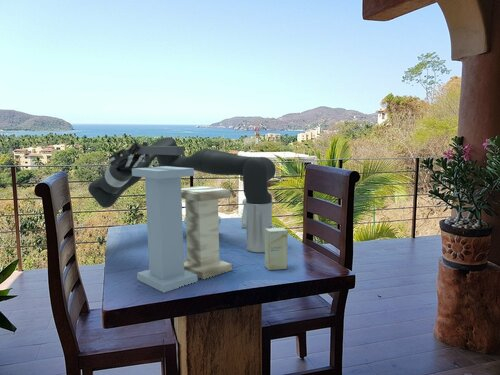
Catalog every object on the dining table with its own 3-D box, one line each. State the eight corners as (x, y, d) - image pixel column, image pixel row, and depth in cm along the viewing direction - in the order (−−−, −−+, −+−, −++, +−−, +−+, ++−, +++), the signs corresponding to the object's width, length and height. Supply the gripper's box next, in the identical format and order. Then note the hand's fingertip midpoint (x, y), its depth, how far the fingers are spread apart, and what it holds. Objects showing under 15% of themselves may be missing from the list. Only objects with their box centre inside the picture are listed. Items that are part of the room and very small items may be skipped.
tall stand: (137, 279, 112) (131, 168, 108) (170, 270, 119) (166, 166, 115) (163, 292, 102) (158, 171, 98) (197, 281, 109) (193, 168, 105)
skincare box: (268, 270, 118) (268, 231, 116) (264, 266, 122) (263, 228, 120) (288, 268, 119) (288, 230, 118) (283, 264, 124) (283, 226, 122)
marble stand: (175, 268, 121) (172, 188, 118) (204, 260, 128) (201, 185, 125) (203, 279, 111) (200, 193, 108) (232, 270, 118) (230, 189, 115)
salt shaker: (252, 229, 172) (252, 200, 170) (240, 228, 173) (239, 199, 171) (255, 226, 178) (254, 198, 176) (242, 225, 179) (242, 197, 177)
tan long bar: (128, 153, 117) (128, 146, 117) (135, 153, 119) (134, 145, 119) (176, 155, 99) (176, 146, 99) (184, 154, 100) (183, 146, 100)
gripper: (96, 162, 121) (116, 133, 109) (136, 160, 131) (159, 133, 119) (102, 183, 119) (123, 156, 107) (143, 180, 129) (166, 154, 117)
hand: (142, 144), depth 113 cm, fingers closed on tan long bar, 2 cm apart
